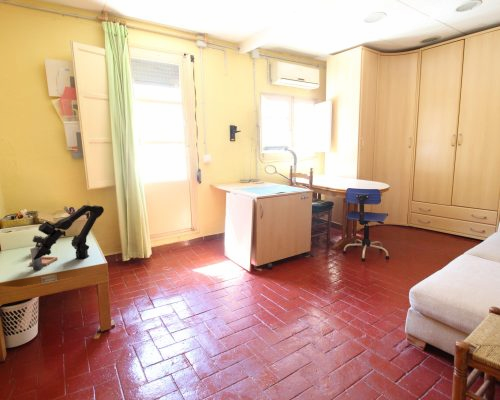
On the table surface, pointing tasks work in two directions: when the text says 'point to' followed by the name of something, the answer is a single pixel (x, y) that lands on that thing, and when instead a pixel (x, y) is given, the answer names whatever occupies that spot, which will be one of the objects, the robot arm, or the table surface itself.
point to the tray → (47, 260)
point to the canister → (38, 262)
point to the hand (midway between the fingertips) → (33, 258)
